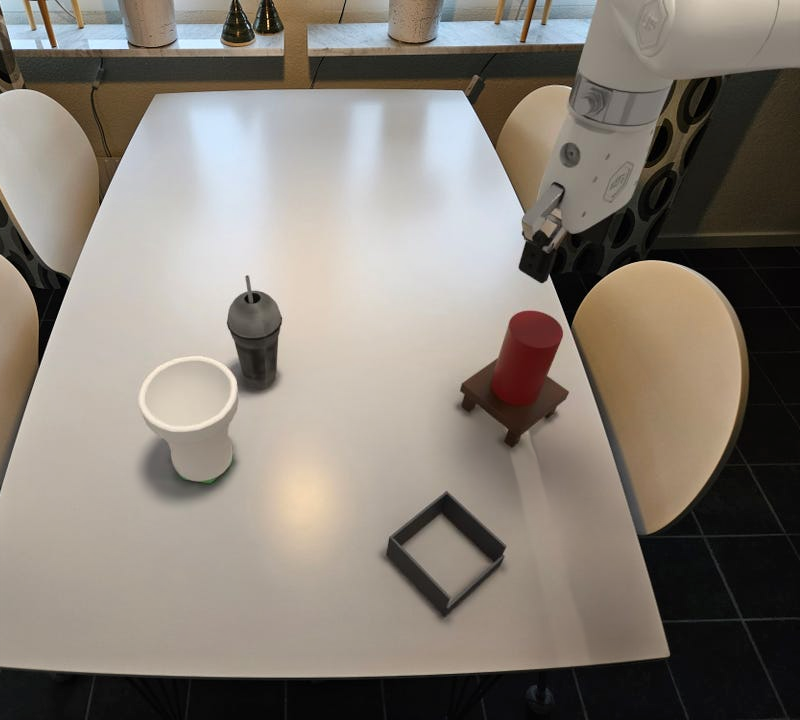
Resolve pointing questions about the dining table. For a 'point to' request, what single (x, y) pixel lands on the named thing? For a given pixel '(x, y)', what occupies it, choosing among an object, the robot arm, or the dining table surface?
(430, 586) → the dark square frame
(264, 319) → the beverage cup
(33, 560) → the dining table surface
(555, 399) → the stool
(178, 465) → the cup
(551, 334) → the can
